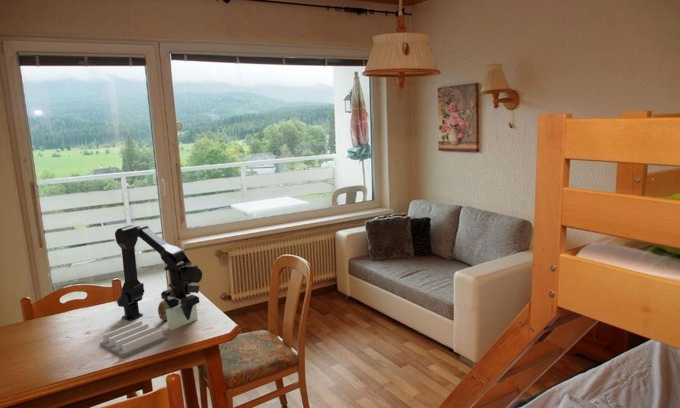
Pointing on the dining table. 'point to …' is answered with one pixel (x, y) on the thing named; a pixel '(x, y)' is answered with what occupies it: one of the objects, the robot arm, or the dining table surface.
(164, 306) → the tin
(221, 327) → the dining table surface
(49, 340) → the dining table surface
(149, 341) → the dish rack
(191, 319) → the plate slab
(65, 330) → the dining table surface
